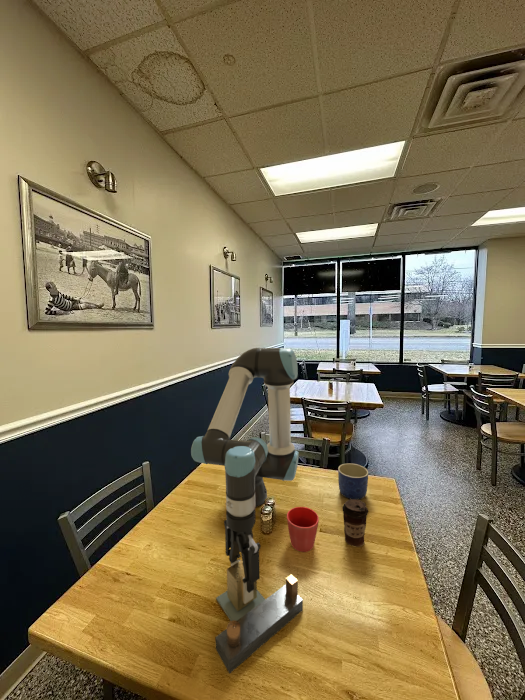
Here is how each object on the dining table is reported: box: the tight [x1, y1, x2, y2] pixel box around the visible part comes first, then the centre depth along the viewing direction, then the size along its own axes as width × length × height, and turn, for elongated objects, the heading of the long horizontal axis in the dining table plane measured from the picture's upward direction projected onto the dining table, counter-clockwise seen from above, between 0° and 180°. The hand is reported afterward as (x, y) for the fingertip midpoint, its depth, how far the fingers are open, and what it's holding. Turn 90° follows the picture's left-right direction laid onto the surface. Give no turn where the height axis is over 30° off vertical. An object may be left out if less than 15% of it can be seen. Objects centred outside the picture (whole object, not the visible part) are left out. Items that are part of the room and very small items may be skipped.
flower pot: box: [286, 506, 320, 553], centre depth 97 cm, size 11×11×10 cm
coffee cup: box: [342, 499, 369, 548], centre depth 98 cm, size 9×8×13 cm
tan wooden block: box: [226, 559, 258, 611], centre depth 77 cm, size 6×5×8 cm
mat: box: [215, 589, 266, 622], centre depth 77 cm, size 10×10×1 cm
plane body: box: [214, 574, 304, 675], centre depth 70 cm, size 22×6×7 cm, turn 128°
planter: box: [337, 463, 369, 500], centre depth 125 cm, size 12×12×11 cm
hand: (242, 591), depth 77 cm, fingers closed on tan wooden block, 5 cm apart
